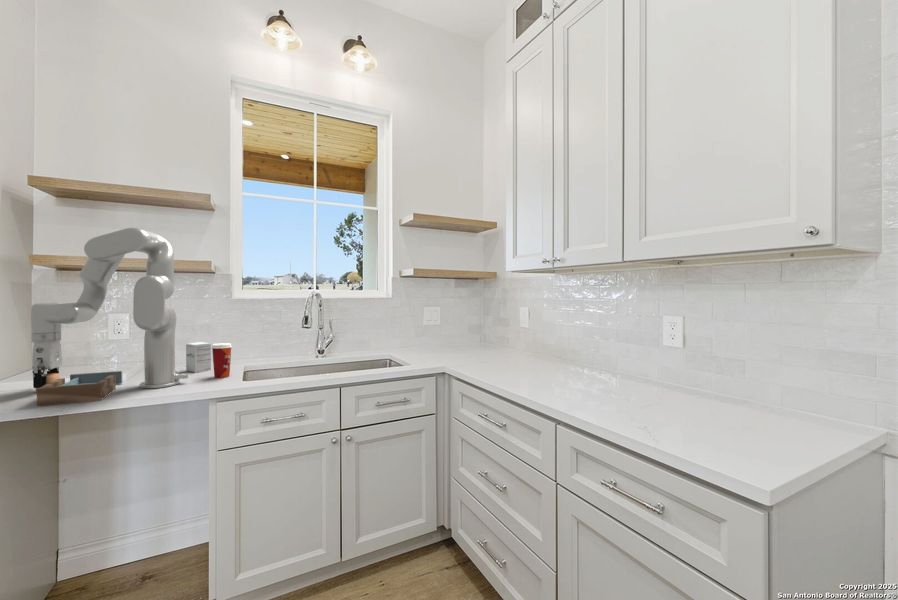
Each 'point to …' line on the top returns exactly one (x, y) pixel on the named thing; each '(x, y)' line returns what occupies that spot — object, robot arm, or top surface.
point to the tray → (92, 378)
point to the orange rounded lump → (51, 378)
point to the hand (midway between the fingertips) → (46, 384)
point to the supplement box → (198, 356)
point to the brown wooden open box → (74, 392)
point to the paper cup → (221, 359)
